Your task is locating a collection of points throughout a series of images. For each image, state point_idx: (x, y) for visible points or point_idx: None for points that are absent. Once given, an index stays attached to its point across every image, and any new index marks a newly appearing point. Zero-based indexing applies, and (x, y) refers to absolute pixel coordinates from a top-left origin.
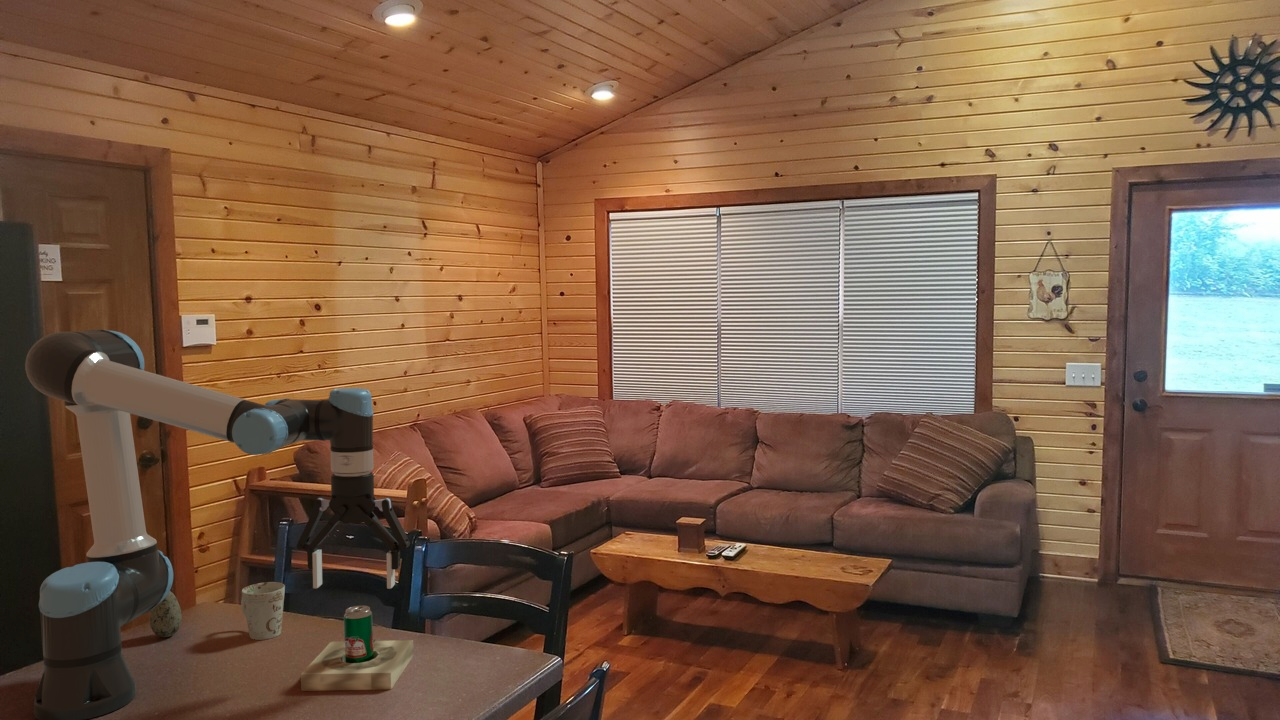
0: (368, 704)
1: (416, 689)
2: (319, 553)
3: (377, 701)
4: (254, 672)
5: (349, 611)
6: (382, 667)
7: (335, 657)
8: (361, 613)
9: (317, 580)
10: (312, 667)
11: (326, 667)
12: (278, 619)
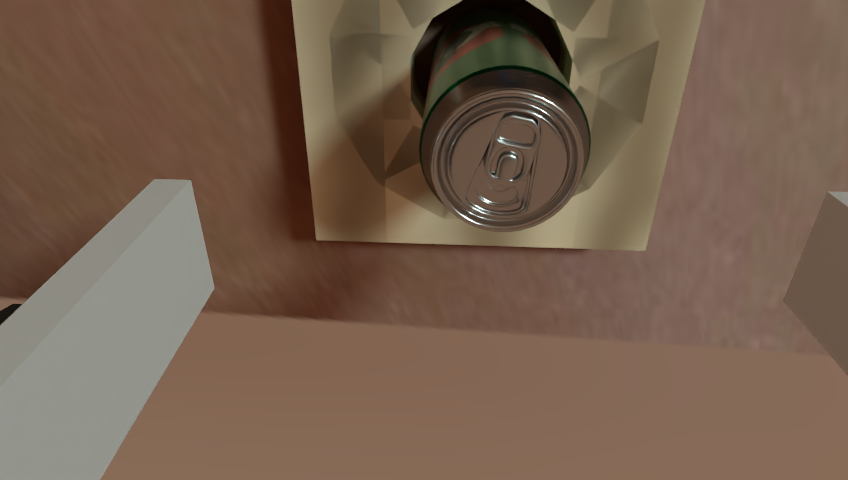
0: (570, 310)
1: (715, 226)
2: (20, 472)
3: (594, 295)
4: (57, 35)
5: (463, 202)
6: (609, 202)
7: (384, 84)
8: (541, 215)
9: (188, 317)
10: (331, 183)
11: (387, 188)
12: None
